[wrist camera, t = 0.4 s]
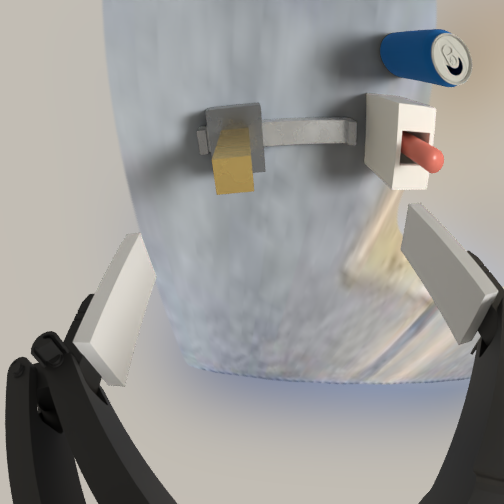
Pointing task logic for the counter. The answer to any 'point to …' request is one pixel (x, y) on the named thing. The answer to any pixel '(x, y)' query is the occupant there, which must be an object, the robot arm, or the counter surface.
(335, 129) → the rail
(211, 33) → the counter surface
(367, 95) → the end cabinet
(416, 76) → the beverage can
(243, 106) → the carriage
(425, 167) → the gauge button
